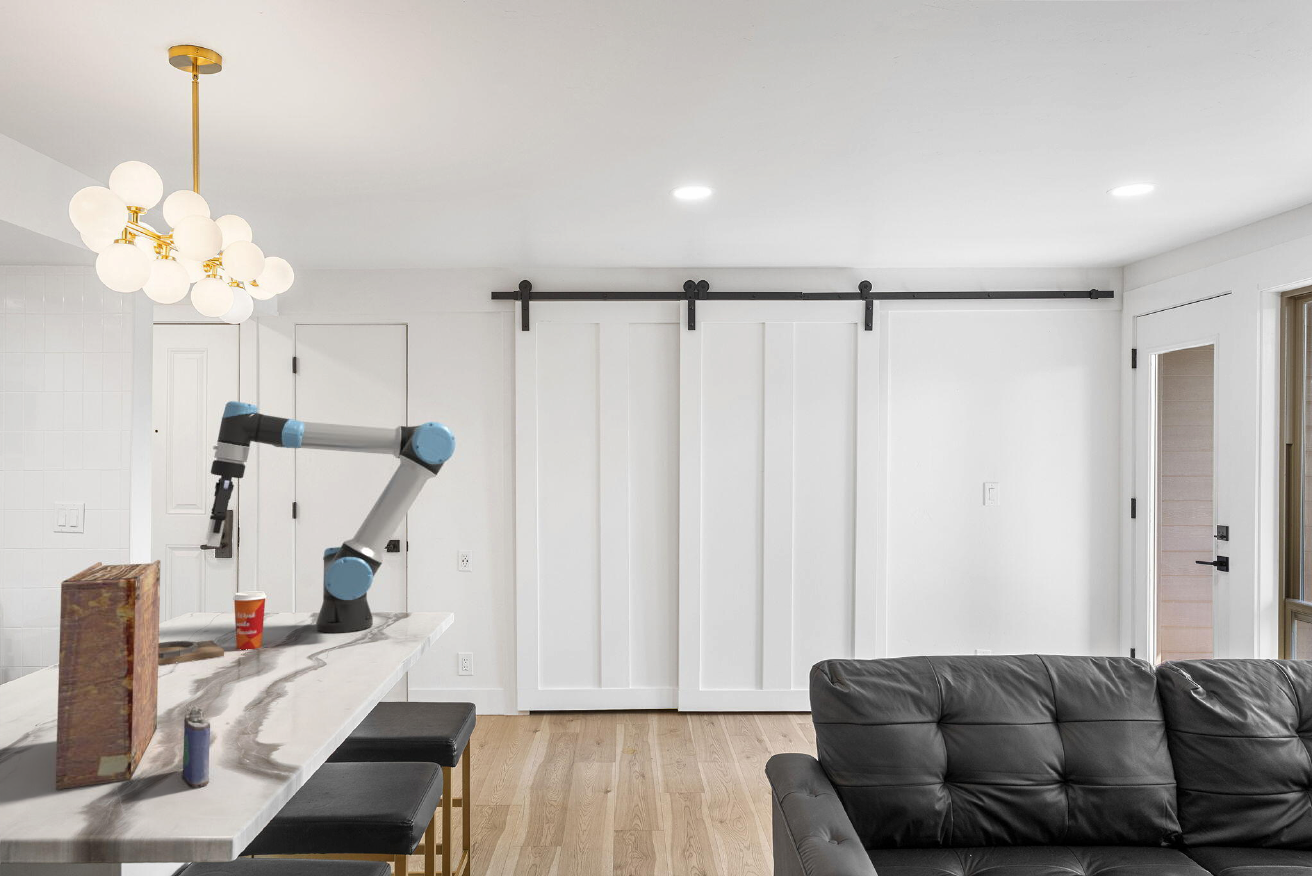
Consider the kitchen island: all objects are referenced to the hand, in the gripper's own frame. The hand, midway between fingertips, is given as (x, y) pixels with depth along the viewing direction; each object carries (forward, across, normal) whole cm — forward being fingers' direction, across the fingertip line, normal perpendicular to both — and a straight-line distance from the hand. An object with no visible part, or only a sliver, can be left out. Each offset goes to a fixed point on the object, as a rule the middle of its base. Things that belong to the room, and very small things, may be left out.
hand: (212, 543), depth 199 cm
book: (+28, +76, -11) cm, 81 cm away
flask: (+25, +93, 0) cm, 96 cm away
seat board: (+28, +6, -5) cm, 29 cm away
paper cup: (+25, +4, +13) cm, 29 cm away
